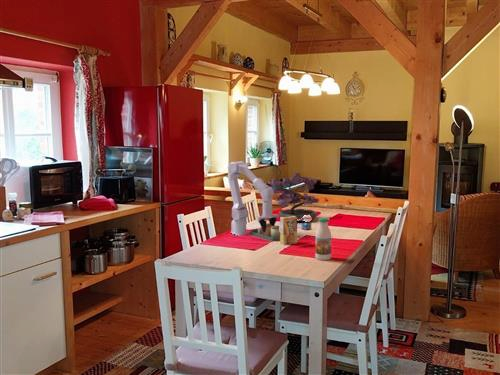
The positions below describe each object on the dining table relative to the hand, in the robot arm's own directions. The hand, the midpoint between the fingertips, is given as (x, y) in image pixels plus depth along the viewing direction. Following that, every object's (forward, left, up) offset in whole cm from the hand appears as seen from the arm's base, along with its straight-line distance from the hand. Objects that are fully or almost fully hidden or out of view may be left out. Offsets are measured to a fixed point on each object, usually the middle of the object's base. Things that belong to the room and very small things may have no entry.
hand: (267, 231), depth 282 cm
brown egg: (+7, 0, -3) cm, 7 cm away
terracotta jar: (0, 0, -3) cm, 3 cm away
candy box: (+20, -1, -4) cm, 21 cm away
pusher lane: (0, 0, -4) cm, 4 cm away
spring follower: (-6, 0, -3) cm, 7 cm away
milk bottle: (+52, -6, -4) cm, 53 cm away
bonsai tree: (-33, +48, -4) cm, 58 cm away
